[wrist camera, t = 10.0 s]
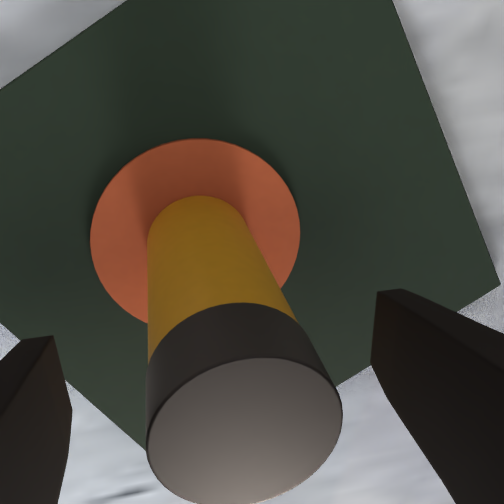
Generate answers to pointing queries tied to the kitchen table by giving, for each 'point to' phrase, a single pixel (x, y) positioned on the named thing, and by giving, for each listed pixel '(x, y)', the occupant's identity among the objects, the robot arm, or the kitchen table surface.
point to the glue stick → (228, 365)
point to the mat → (227, 177)
